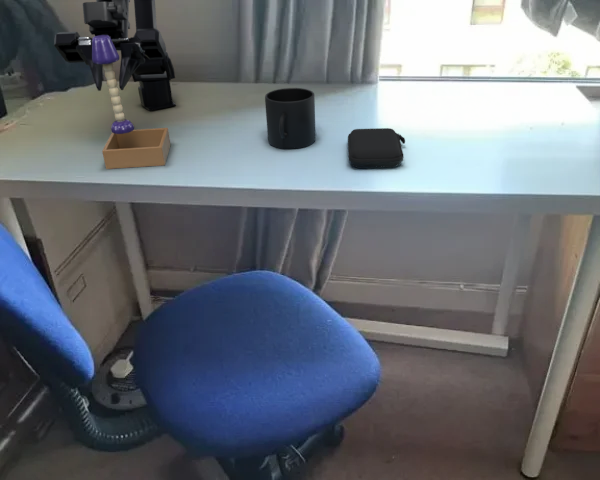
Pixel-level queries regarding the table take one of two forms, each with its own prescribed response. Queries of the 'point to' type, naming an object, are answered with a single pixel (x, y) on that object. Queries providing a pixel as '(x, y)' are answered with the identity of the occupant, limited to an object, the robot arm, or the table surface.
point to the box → (137, 148)
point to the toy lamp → (111, 79)
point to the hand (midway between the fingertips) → (109, 89)
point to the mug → (290, 117)
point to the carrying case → (375, 148)
